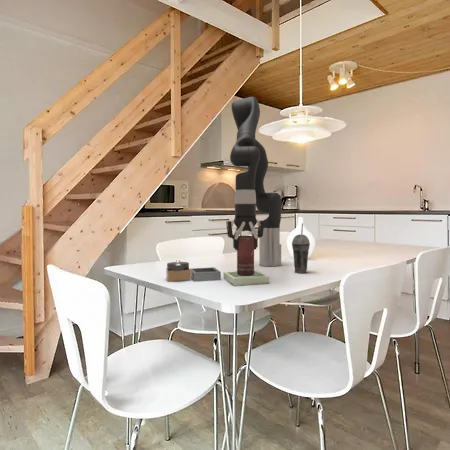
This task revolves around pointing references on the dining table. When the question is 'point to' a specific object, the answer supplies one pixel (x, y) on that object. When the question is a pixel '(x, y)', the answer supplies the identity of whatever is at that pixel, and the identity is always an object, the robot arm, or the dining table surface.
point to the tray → (246, 278)
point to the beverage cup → (300, 252)
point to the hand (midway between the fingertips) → (245, 249)
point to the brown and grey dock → (190, 272)
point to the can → (245, 256)
